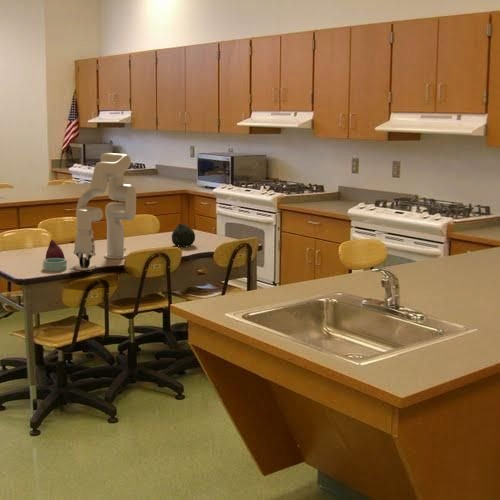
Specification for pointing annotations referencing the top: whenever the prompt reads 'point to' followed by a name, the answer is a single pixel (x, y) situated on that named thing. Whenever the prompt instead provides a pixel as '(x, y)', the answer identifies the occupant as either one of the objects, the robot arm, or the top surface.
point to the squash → (183, 235)
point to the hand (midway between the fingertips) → (84, 265)
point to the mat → (79, 270)
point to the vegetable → (54, 251)
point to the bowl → (54, 264)
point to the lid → (82, 268)
